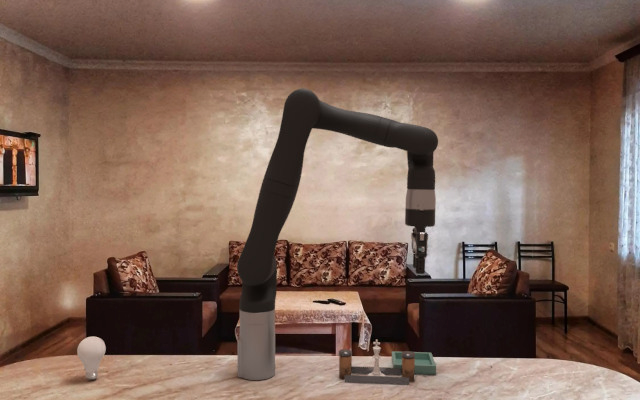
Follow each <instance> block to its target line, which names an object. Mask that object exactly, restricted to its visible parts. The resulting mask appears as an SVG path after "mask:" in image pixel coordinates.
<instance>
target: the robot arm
mask: <svg viewBox="0 0 640 400" xmlns="http://www.w3.org/2000/svg"><path fill="white" fill-rule="evenodd" d="M279 127H280V128H279V133H278V136H277V140H276V143H275V146H274V148H273V151H272V153H271V156H270V158H269V162H268V165H267V168H266V170H265V173H264V176H263V179H262V183H261V186H260V190H259V193H258V198H257V201H256V205H255V211H254V214H253V217H252V218H253V219H252V223H251V227H250V230H249V233H248V236H247V238H246V241H245V244H244V245H243V248H242V251H241V253H240V255H239V258H238V261H237V263H236V264H237V265H236V271H237V275H238V277H239V279H240V280H241V281H242V282H241V284H242V285H241V294H240V297H239V337H238V340H237V343H236V344H237V347H236V348H237V349H236V350H237V355H236V356H237V378H242V379H245V380H248V381H262V380H267V379H271V378H272V377H274V376H275V374H276V298H277V284H278V283H277V282H278V281H277V279H278V278H277V277H278V274H277V273H278V272H277V271H278V270H277V269H278V266H277V263H278V262H277V258H276V256H275V251H276V247H277V244H278V243H277V242H278V241H279V236H280V234H281V231H282V230H283V227H284V225H285V224H286V222H287V220H288V218H289V216H290V213H291V211H292V208H293V205H294V203H295V200H296V197H297V194H298V191H299V186H300V183H301V179H302V173H303V165H304V158H305V152H306V151H305V150H306V146H307V144H308V140H309V138H310V135H311V132H312V130H313V129H314V130H315V129H316V130H325V131H330V132H334V133H339V134H342V135H346V136H349V137H353V138H356V139H359V140H362V141H364V142H368V143H370V144H371V143H372V144H375V145H379V146H381V147H386V148H389V149H390V148H391V149H392V148H393V149H394V148H396V149H398V150H403V151H405V152H406V158H407V160H406V161H407V178H406V179H407V181H406V195H405V209H404V211H405V215H404V221H405V222H404V225H405V226H408V227H412V232H411V235H410V237H411V238H410V239H411V242H410V243H411V251H412V268H414V269H415V273H416V274H418V275H424V274H425V273H426V259H427V256H428V242H429V241H428V240H429V234H428V232H427V231H426V228H431V227H435V226H436V199H437V198H436V170H435V168H434V154H435V153H434V152H435V151H436V149H437V148H438V146H439V145H438V144H439V137H438V135H437V134H436V132H435V131H434V130H432V129H431V128H428V127H425V126H422V125H416V124H412V123H406V122H400V121H397V120H394V119H391V118H388V117H383V116H382V115H381V116H380V115H378V114H373V113H372V114H371V113H367V112H361V111H354V110H350V109H349V110H348V109H344V108H339V107H337V106H334V105H331V104H329V103H326V102H325V101H322V100H320V98H319V97H318V96H317V94H315V92H313V90H310V89H308V88H302V87H301V88H298V89H295V90H293V91H292V92H290V94H288V96H287V97H286V99H285V102H284V105H283V110H282V117H281V122H280V126H279Z"/></svg>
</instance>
